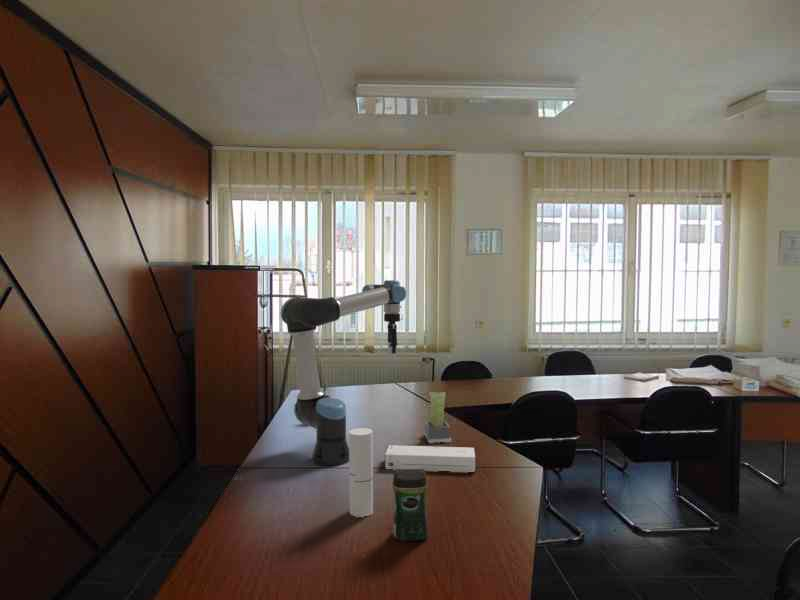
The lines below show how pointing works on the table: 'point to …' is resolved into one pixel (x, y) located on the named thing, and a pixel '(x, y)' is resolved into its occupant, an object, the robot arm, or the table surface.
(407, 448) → the laminator
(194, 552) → the table surface
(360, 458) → the cylindrical container
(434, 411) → the tube
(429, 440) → the grey and white box
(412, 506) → the coffee jar
